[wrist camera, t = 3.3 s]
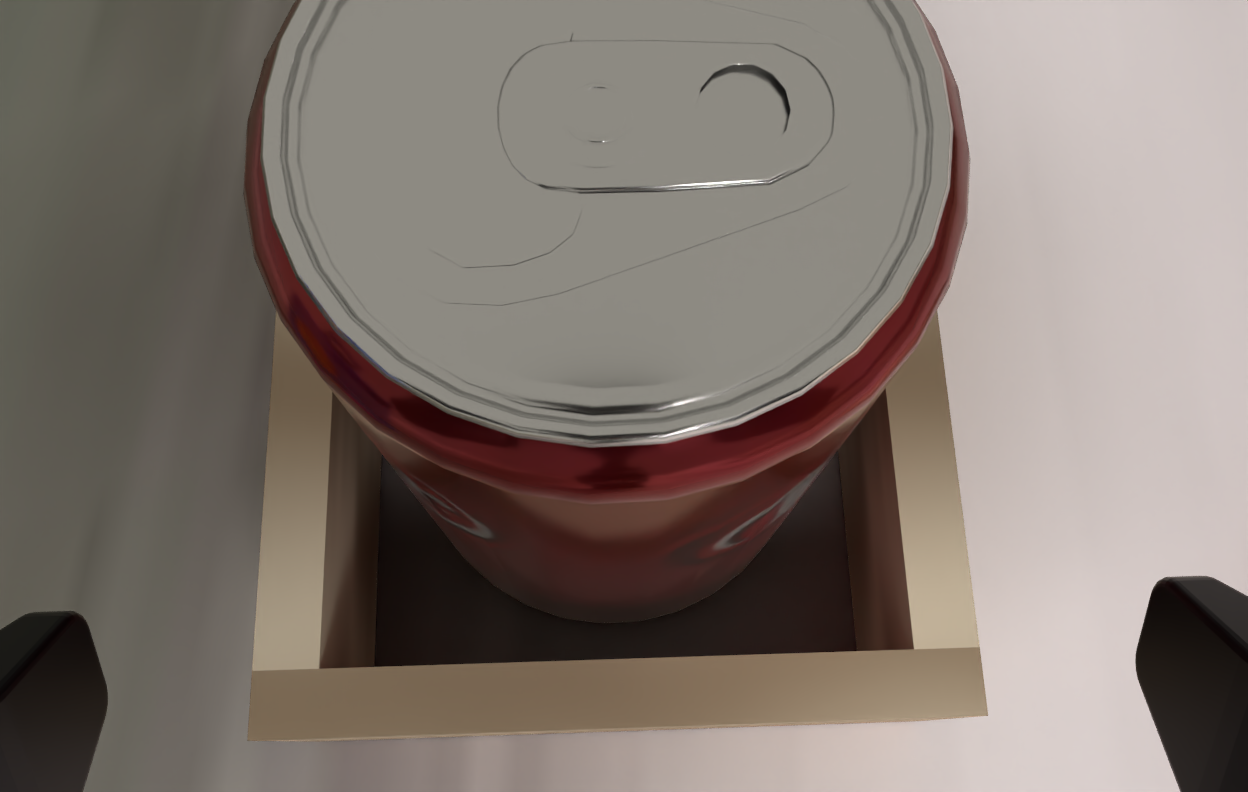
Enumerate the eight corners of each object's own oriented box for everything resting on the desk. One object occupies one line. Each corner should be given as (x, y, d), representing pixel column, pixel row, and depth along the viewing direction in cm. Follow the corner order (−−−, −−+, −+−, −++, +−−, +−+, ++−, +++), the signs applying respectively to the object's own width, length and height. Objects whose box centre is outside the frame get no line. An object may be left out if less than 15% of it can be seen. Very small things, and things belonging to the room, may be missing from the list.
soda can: (408, 619, 21) (161, 466, 9) (443, 265, 23) (276, -209, 12) (794, 635, 21) (1018, 502, 9) (792, 280, 23) (970, -181, 12)
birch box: (917, 720, 20) (988, 715, 17) (316, 741, 20) (247, 740, 16) (860, 184, 24) (907, 77, 20) (343, 197, 23) (290, 90, 20)
